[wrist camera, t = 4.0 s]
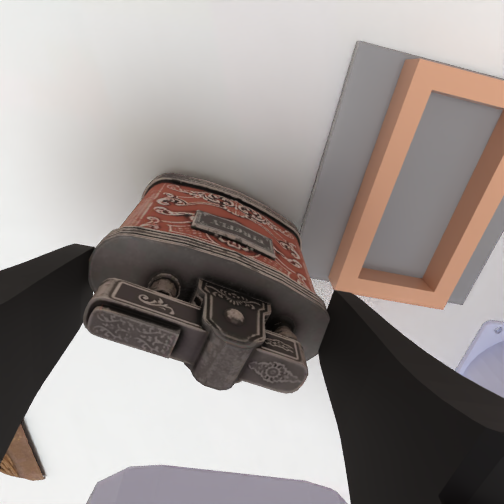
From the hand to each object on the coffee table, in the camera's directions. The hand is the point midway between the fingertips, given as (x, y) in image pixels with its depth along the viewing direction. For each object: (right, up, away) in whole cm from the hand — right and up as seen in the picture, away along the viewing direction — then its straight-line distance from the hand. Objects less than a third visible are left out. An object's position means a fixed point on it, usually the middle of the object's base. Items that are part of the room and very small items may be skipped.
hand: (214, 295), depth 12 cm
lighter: (0, +3, +6) cm, 7 cm away
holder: (+10, +5, +8) cm, 14 cm away
